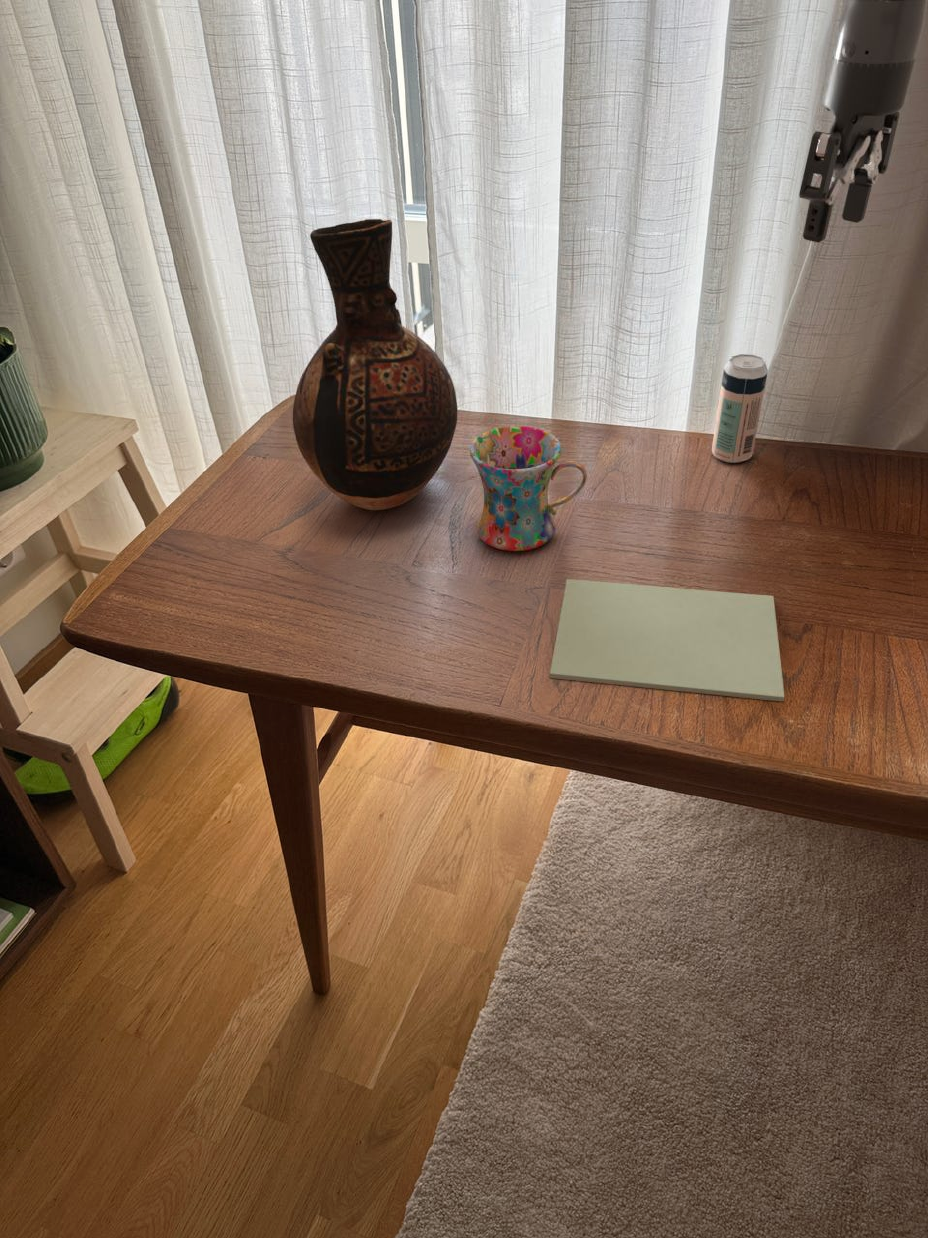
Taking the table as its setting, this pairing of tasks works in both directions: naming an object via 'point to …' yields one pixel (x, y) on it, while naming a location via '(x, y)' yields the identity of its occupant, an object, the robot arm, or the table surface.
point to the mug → (518, 486)
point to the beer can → (739, 408)
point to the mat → (669, 639)
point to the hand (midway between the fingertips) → (833, 230)
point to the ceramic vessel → (371, 381)
